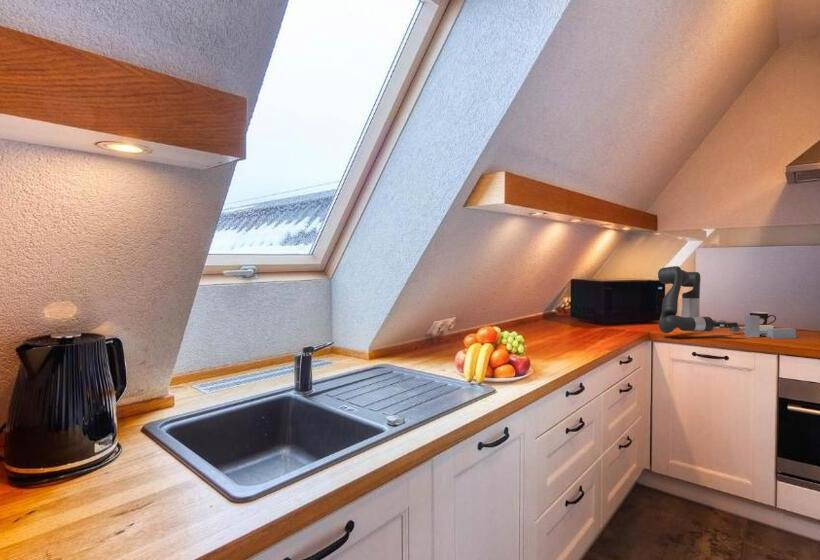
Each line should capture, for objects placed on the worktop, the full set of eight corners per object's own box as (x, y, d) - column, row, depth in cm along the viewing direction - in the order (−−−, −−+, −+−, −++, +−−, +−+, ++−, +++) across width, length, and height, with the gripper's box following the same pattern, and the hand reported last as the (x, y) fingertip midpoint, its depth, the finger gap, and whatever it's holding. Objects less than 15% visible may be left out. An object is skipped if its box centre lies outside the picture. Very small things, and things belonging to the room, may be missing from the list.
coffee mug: (747, 330, 261) (747, 312, 261) (751, 328, 267) (751, 311, 267) (773, 332, 253) (773, 314, 252) (776, 330, 258) (776, 312, 258)
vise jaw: (729, 330, 248) (729, 325, 248) (769, 330, 249) (769, 324, 249) (734, 331, 245) (734, 326, 245) (774, 331, 245) (774, 325, 245)
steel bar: (744, 336, 238) (745, 315, 238) (754, 336, 238) (754, 315, 238) (749, 337, 234) (750, 316, 234) (759, 337, 234) (759, 316, 234)
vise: (743, 332, 251) (743, 324, 251) (764, 332, 252) (764, 324, 252) (773, 338, 231) (773, 329, 231) (796, 338, 232) (796, 329, 232)
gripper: (709, 318, 228) (741, 317, 228) (691, 315, 242) (721, 315, 243) (709, 333, 228) (741, 332, 228) (691, 329, 242) (721, 329, 243)
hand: (731, 323), depth 236 cm, fingers open, 8 cm apart
